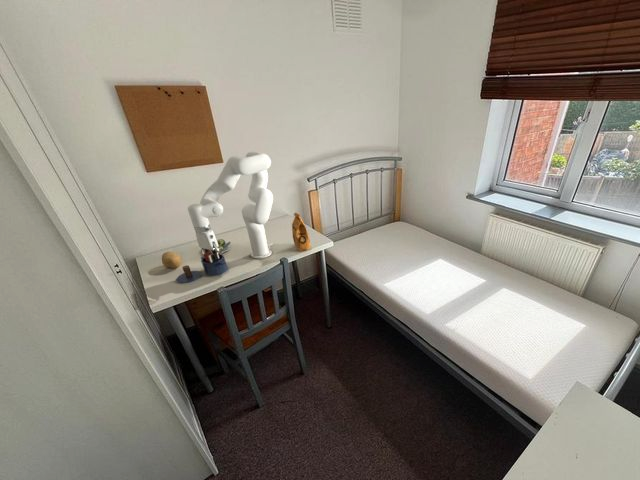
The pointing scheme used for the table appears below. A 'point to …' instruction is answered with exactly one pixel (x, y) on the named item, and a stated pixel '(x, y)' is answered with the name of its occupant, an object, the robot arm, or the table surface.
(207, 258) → the meat
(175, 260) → the potato
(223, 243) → the salad plate
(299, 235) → the coffee package
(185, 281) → the lid
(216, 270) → the pot
